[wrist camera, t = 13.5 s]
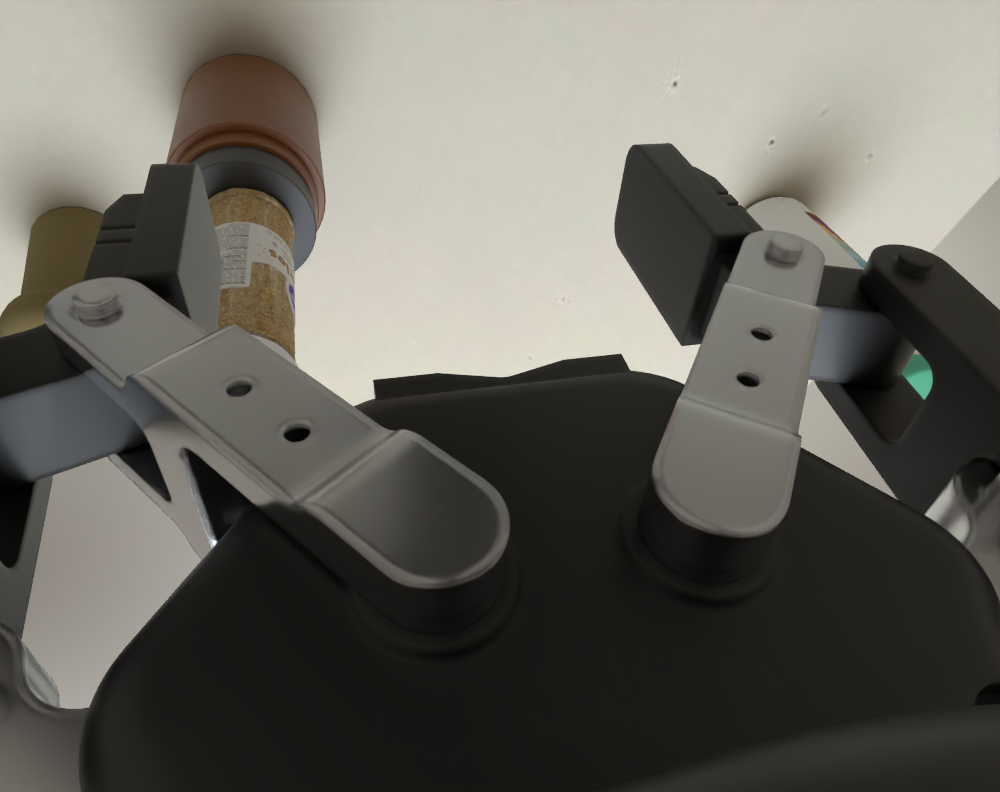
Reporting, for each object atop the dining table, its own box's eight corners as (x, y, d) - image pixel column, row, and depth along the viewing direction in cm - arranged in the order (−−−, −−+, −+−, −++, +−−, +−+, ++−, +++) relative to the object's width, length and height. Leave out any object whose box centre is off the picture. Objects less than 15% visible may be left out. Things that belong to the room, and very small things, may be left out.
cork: (26, 198, 45) (-26, 300, 37) (134, 216, 47) (107, 316, 39) (33, 279, 48) (-13, 388, 40) (133, 292, 51) (108, 397, 43)
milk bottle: (712, 282, 62) (842, 450, 48) (726, 202, 57) (877, 364, 43) (795, 266, 63) (946, 426, 49) (816, 185, 58) (993, 339, 44)
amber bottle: (165, 54, 41) (134, 152, 32) (309, 52, 43) (319, 145, 34) (197, 185, 47) (179, 301, 37) (323, 179, 48) (336, 288, 39)
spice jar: (307, 252, 37) (320, 438, 28) (221, 276, 37) (203, 471, 27) (273, 171, 34) (274, 350, 24) (178, 197, 34) (141, 387, 24)
